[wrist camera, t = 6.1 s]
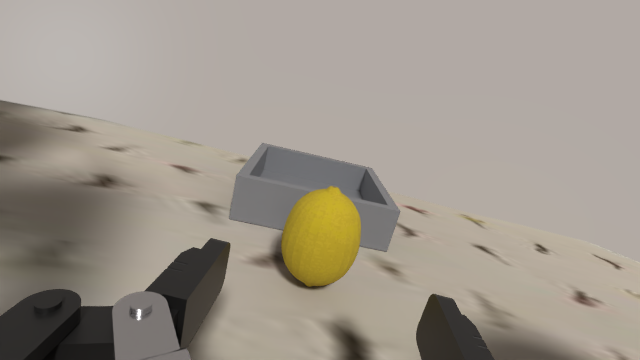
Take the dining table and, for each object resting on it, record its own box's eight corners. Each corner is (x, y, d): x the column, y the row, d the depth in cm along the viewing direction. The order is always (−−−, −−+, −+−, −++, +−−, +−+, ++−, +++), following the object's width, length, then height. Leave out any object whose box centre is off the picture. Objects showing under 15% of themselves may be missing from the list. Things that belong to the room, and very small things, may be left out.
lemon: (317, 259, 28) (341, 173, 26) (358, 301, 24) (390, 202, 22) (259, 269, 25) (280, 171, 22) (295, 319, 21) (325, 205, 18)
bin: (229, 218, 31) (236, 175, 30) (256, 172, 46) (262, 142, 45) (386, 251, 33) (400, 211, 31) (363, 196, 48) (371, 168, 47)
